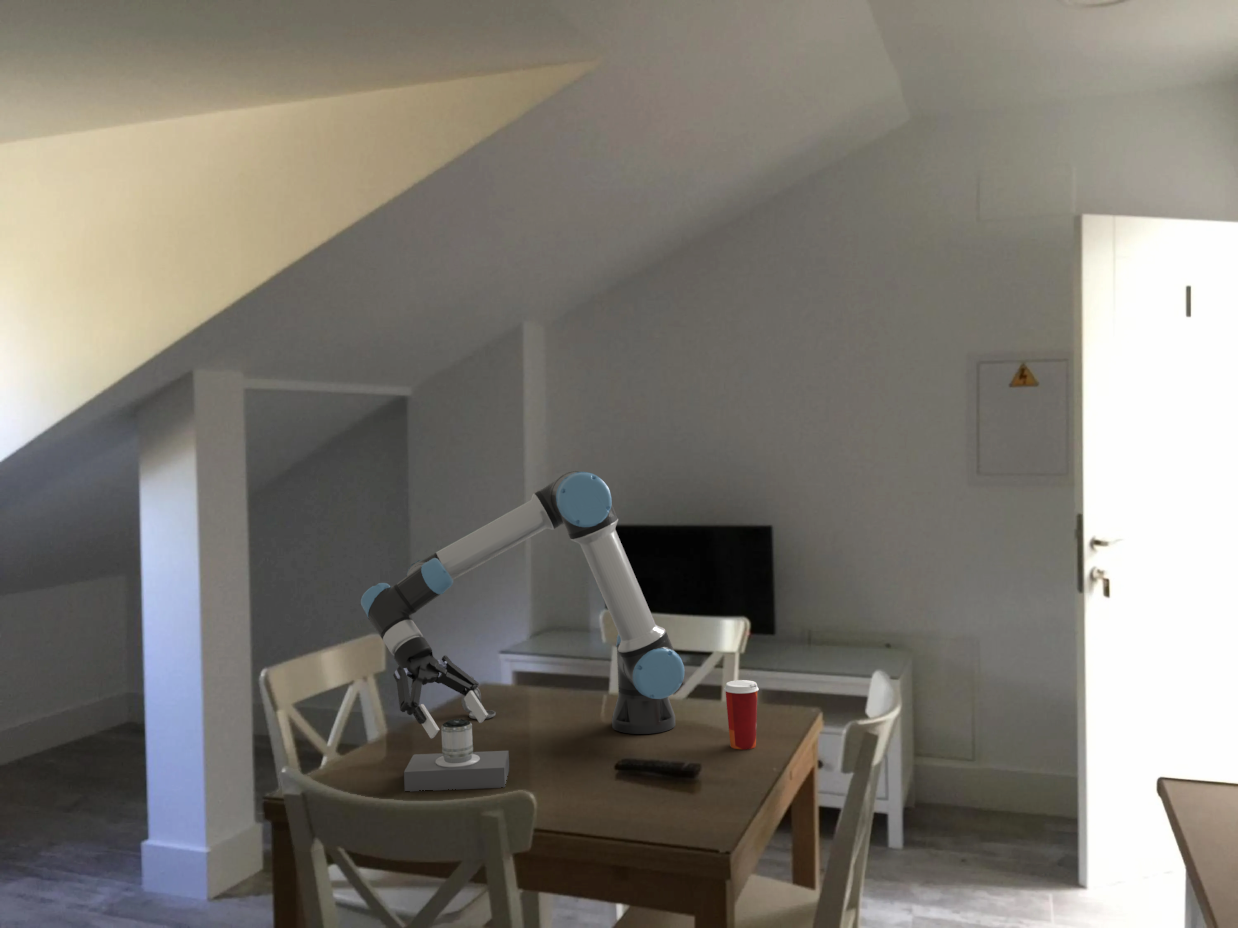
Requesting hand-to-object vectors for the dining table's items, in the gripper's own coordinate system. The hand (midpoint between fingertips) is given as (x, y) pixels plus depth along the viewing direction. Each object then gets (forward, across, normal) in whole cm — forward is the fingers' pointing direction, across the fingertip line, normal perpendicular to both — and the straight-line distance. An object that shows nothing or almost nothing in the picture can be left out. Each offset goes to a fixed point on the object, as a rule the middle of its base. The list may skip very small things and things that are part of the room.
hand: (460, 726), depth 223 cm
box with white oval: (+7, 0, -9) cm, 11 cm away
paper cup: (+33, -51, +17) cm, 63 cm away
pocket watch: (-17, -39, -33) cm, 54 cm away
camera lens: (+4, 0, -6) cm, 7 cm away
